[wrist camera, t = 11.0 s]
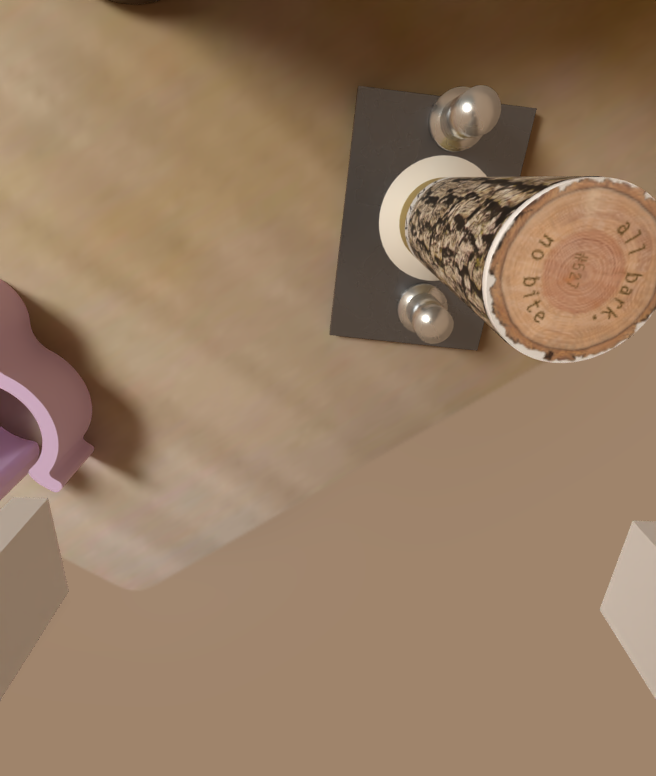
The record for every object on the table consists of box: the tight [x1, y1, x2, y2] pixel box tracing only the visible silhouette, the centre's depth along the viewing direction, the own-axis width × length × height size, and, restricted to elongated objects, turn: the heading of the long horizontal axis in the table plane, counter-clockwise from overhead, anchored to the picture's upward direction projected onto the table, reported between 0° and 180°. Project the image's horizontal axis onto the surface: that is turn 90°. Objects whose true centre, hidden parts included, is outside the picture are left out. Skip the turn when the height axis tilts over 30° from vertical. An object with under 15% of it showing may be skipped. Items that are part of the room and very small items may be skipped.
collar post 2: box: [429, 85, 501, 152], centre depth 35 cm, size 4×4×6 cm
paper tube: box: [399, 176, 656, 363], centre depth 29 cm, size 7×7×25 cm
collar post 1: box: [397, 283, 454, 344], centre depth 41 cm, size 4×4×6 cm
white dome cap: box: [379, 155, 487, 281], centre depth 41 cm, size 10×10×1 cm
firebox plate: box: [330, 86, 536, 350], centre depth 42 cm, size 20×14×1 cm
